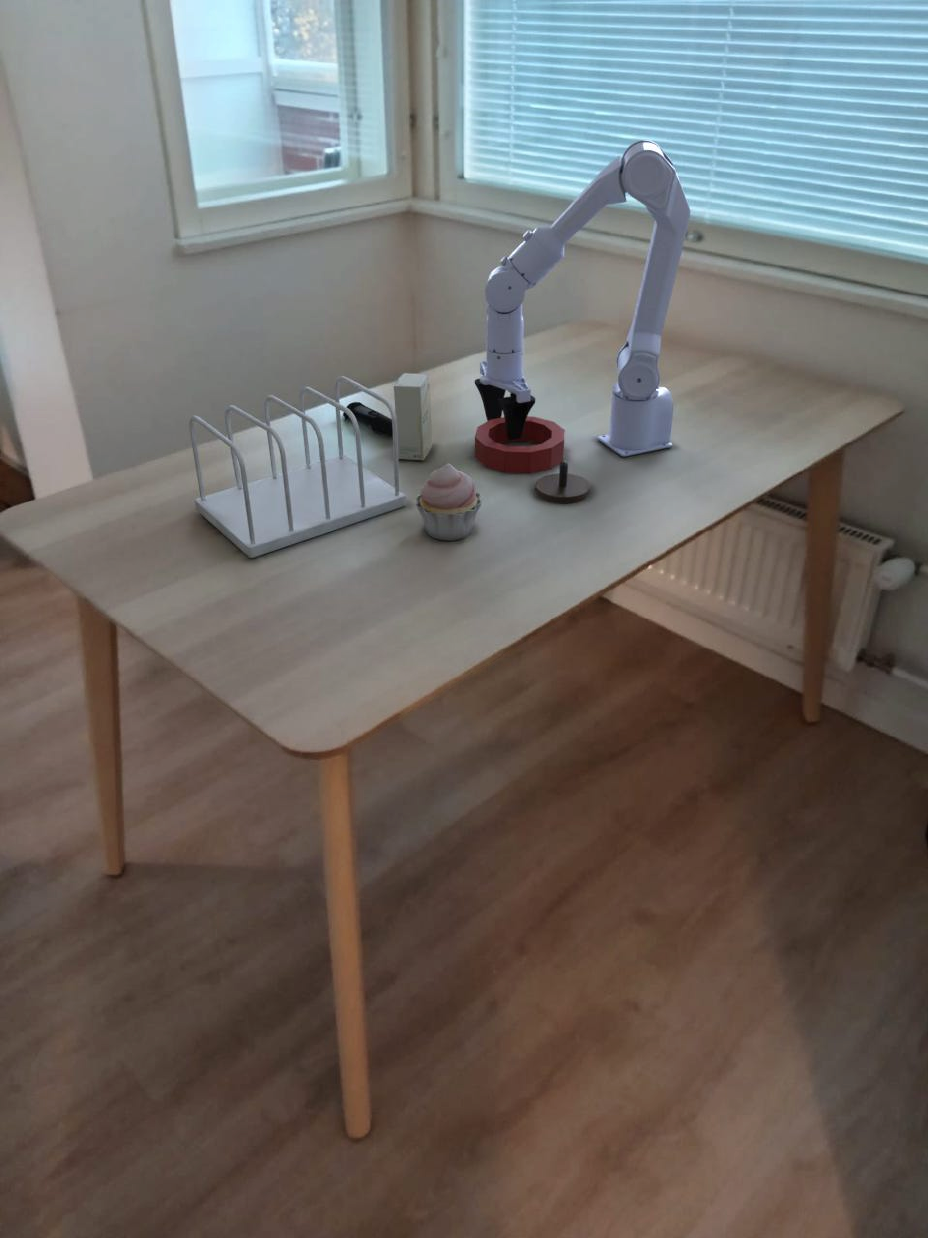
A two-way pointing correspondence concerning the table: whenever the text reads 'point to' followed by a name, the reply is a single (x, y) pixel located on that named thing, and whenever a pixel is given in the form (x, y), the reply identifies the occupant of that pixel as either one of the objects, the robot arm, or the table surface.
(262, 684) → the table surface
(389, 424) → the electric trimmer
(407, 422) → the cosmetic box
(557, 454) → the ring
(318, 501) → the file sorter
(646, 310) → the robot arm
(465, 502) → the cupcake
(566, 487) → the peg stand
